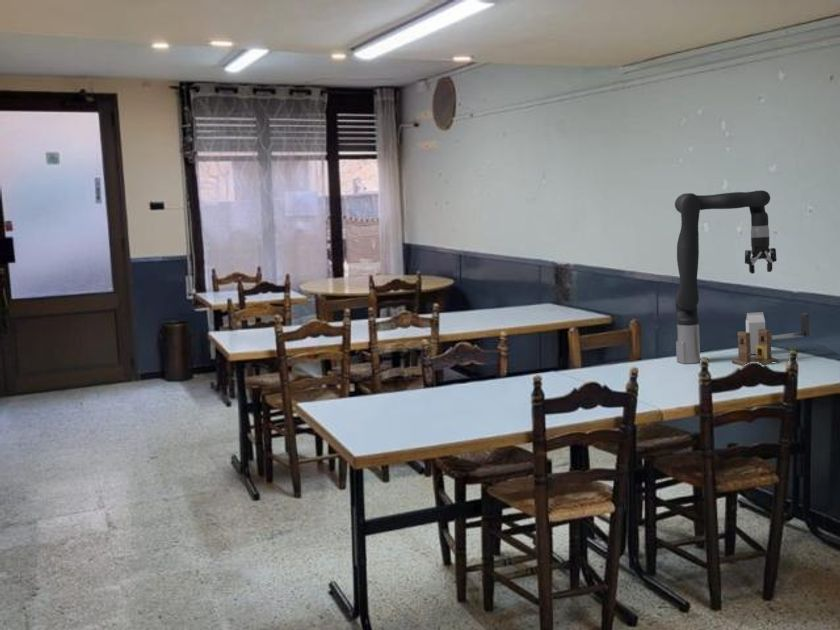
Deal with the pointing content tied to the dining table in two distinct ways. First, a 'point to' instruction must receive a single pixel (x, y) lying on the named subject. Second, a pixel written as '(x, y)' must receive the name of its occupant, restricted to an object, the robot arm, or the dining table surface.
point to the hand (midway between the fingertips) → (760, 272)
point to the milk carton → (754, 327)
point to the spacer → (758, 351)
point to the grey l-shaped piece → (803, 332)
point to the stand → (745, 348)
